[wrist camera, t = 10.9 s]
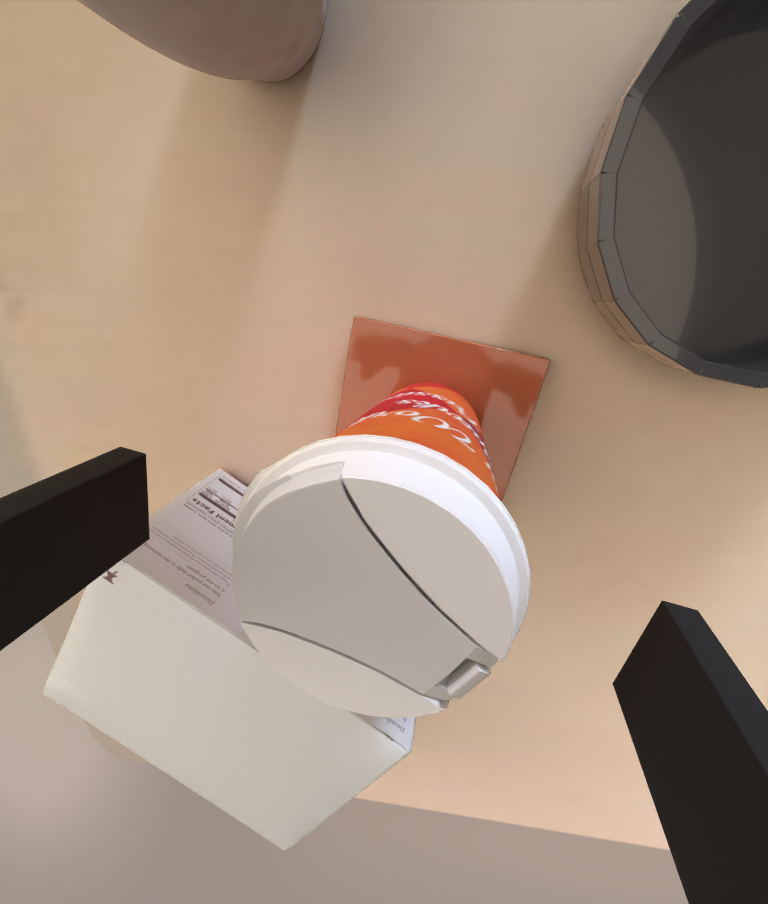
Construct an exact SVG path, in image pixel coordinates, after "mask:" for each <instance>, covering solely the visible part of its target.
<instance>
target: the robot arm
mask: <svg viewBox="0 0 768 904" xmlns="http://www.w3.org/2000/svg"><path fill="white" fill-rule="evenodd" d="M149 539H150V535H149V513H148V491H147V470H146V454H144V453H141V452H137V451H134V450H130V449H126V448H123V447H119V448H116V449H114V450H112V451H109V452H107V453H105V454H102V455H100V456H98V457H95V458H93V459H91V460H88V461H86V462H84V463H81V464H79V465H77V466H74V467H72V468H70V469H67V470H65V471H63V472H60V473H58V474H56V475H53V476H51V477H49V478H46V479H44V480H42V481H39V482H37V483H35V484H32V485H30V486H28V487H25V488H23V489H21V490H18V491H16V492H14V493H11V494H9V495H7V496H4V497H2V498H0V651H1V650H2V649H3V648H4V647H6V646H7V645H8V644H10V643H11V642H13V641H14V640H15V639H17V638H18V637H19V636H20V635H22V634H23V633H24V632H26V631H27V630H28V629H30V628H31V627H33V626H34V625H35V624H36V623H38V622H39V621H41V620H42V619H43V618H45V617H46V616H47V615H49V614H50V613H51V612H53V611H54V610H55V609H57V608H58V607H59V606H61V605H62V604H63V603H65V602H66V601H67V600H69V599H70V598H71V597H73V596H74V595H75V594H77V593H78V592H80V591H81V590H82V589H84V588H85V587H86V586H88V585H89V584H90V583H92V582H93V581H94V580H96V579H97V578H98V577H100V576H101V575H102V574H104V573H105V572H106V571H108V570H109V569H110V568H112V567H113V566H114V565H116V564H117V563H118V562H120V561H121V560H122V559H124V558H125V557H126V556H128V555H129V554H130V553H132V552H133V551H134V550H136V549H137V548H138V547H140V546H141V545H142V544H144V543H145V542H146V541H148V540H149ZM613 686H614V689H615V691H616V694H617V697H618V700H619V703H620V706H621V709H622V712H623V715H624V717H625V720H626V723H627V726H628V729H629V732H630V735H631V738H632V741H633V744H634V746H635V749H636V752H637V755H638V758H639V761H640V764H641V767H642V770H643V772H644V775H645V778H646V781H647V784H648V787H649V790H650V793H651V796H652V798H653V801H654V804H655V807H656V810H657V813H658V816H659V819H660V822H661V825H662V827H663V830H664V833H665V836H666V839H667V842H668V845H669V848H670V851H671V853H672V856H673V859H674V862H675V865H676V868H677V871H678V874H679V877H680V879H681V882H682V885H683V888H684V891H685V894H686V897H687V900H688V902H689V904H768V711H767V710H766V708H765V707H764V705H763V704H762V702H761V701H760V699H759V698H758V697H757V695H756V694H755V692H754V691H753V689H752V688H751V686H750V685H749V684H748V682H747V681H746V679H745V678H744V676H743V675H742V674H741V672H740V671H739V669H738V668H737V666H736V665H735V663H734V662H733V661H732V659H731V658H730V656H729V655H728V653H727V652H726V650H725V649H724V648H723V646H722V645H721V643H720V642H719V640H718V639H717V637H716V636H715V635H714V633H713V632H712V630H711V629H710V627H709V626H708V624H707V623H706V622H705V620H704V619H703V617H702V616H701V614H700V613H699V612H698V610H694V609H690V608H687V607H683V606H680V605H676V604H673V603H669V602H666V601H661V603H660V605H659V607H658V608H657V610H656V612H655V613H654V615H653V617H652V618H651V620H650V622H649V623H648V625H647V627H646V628H645V630H644V632H643V633H642V635H641V637H640V639H639V640H638V642H637V644H636V645H635V647H634V649H633V650H632V652H631V654H630V655H629V657H628V659H627V660H626V662H625V664H624V665H623V667H622V669H621V670H620V672H619V674H618V676H617V677H616V679H615V681H614V682H613Z"/></svg>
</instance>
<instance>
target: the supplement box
mask: <svg viewBox="0 0 768 904" xmlns="http://www.w3.org/2000/svg"><path fill="white" fill-rule="evenodd" d="M246 489H247V487H246V486H245V485H243V484H242V483H241V482H239V481H238V480H236V479H235V478H233V477H232V476H231V475H229V474H228V473H226V472H225V471H224V470H222V469H217V470H215V471H214V472H212V473H211V474H210V475H208V476H207V477H205V478H204V479H202V480H201V481H199V482H198V483H196V484H195V485H193V486H192V487H190V488H189V489H188V490H186V491H185V492H183V493H182V494H180V495H179V496H177V497H176V498H174V499H173V500H171V501H170V502H168V503H167V504H165V505H164V506H162V507H161V508H159V509H158V510H156V511H155V512H154V513H152V514H151V515H149V535H150V539H149V540H148V541H146V542H145V543H144V544H142V545H141V546H140V547H138V548H137V549H136V550H134V551H133V552H132V553H130V554H129V555H128V556H126V557H125V558H124V559H122V560H121V561H120V562H118V563H117V564H116V565H114V566H113V567H112V568H110V569H109V570H108V571H106V572H105V573H104V574H102V575H101V576H100V577H98V578H97V579H96V580H94V581H93V582H92V583H90V584H89V585H88V586H87V587H86V589H85V592H84V594H83V596H82V599H81V601H80V604H79V606H78V609H77V611H76V614H75V616H74V619H73V621H72V624H71V626H70V629H69V631H68V633H67V636H66V639H65V641H64V643H63V645H62V648H61V650H60V652H59V655H58V657H57V659H56V662H55V664H54V667H53V669H52V671H51V673H50V675H49V678H48V681H47V683H46V685H45V688H44V691H43V694H44V695H45V696H46V697H48V698H50V699H52V700H54V701H55V702H57V703H59V704H60V705H62V706H63V707H65V708H66V709H68V710H69V711H71V712H73V713H74V714H76V715H78V716H79V717H81V718H82V719H84V720H85V721H87V722H88V723H90V724H91V725H93V726H94V727H96V728H97V729H99V730H100V731H102V732H104V733H105V734H107V735H108V736H110V737H111V738H113V739H114V740H116V741H117V742H119V743H120V744H122V745H124V746H125V747H127V748H128V749H130V750H131V751H133V752H134V753H136V754H137V755H139V756H140V757H142V758H143V759H145V760H147V761H148V762H150V763H151V764H153V765H154V766H156V767H157V768H159V769H161V770H162V771H164V772H165V773H167V774H168V775H170V776H171V777H173V778H174V779H176V780H177V781H179V782H180V783H182V784H183V785H185V786H186V787H188V788H190V789H191V790H193V791H194V792H196V793H197V794H199V795H200V796H202V797H203V798H205V799H207V800H208V801H210V802H211V803H213V804H214V805H216V806H217V807H219V808H220V809H222V810H223V811H225V812H226V813H228V814H230V815H231V816H233V817H234V818H236V819H237V820H239V821H240V822H242V823H243V824H245V825H246V826H248V827H249V828H251V829H253V830H254V831H255V832H257V833H259V834H260V835H261V836H263V837H264V838H266V839H267V840H269V841H270V842H271V843H273V844H274V845H276V846H277V847H279V848H281V849H282V850H283V851H286V850H287V849H289V848H290V847H292V846H293V845H294V844H295V843H297V842H298V841H299V840H301V839H302V838H303V837H304V836H306V835H307V834H308V833H310V832H311V831H312V830H313V829H315V828H316V827H317V826H318V825H319V824H321V823H322V822H323V821H324V820H325V819H327V818H328V817H329V816H331V815H332V814H333V813H334V812H335V811H337V810H338V809H339V808H341V807H342V806H343V805H345V804H346V803H347V802H348V801H350V800H351V799H352V798H353V797H355V796H356V795H357V794H358V793H360V792H361V791H362V790H364V789H365V788H366V787H367V786H369V785H370V784H371V783H372V782H374V781H375V780H376V779H377V778H379V777H380V776H381V775H382V774H384V773H385V772H386V771H388V770H389V769H390V768H391V767H393V766H394V765H395V764H397V763H398V762H399V761H400V760H402V759H403V758H404V757H405V756H407V755H408V754H409V753H410V752H411V749H412V744H413V737H414V729H415V721H416V717H410V718H386V717H377V716H369V715H364V714H360V713H355V712H351V711H348V710H345V709H342V708H339V707H336V706H333V705H330V704H328V703H326V702H324V701H322V700H320V699H318V698H316V697H313V696H312V695H310V694H308V693H307V692H305V691H303V690H302V689H300V688H298V687H297V686H295V685H294V684H293V683H291V682H290V681H289V680H287V679H286V678H285V677H283V676H282V675H281V674H280V673H279V672H278V671H276V670H275V669H274V668H273V667H272V666H271V665H270V664H269V663H268V662H267V661H266V660H265V659H264V657H263V656H262V655H261V654H260V653H259V651H258V650H257V649H256V648H255V646H254V645H253V644H252V642H251V640H250V639H249V637H248V636H247V634H246V632H245V631H244V629H243V627H242V625H241V621H240V619H239V615H238V611H237V607H236V602H235V598H234V592H233V586H232V562H233V533H234V529H235V526H234V523H235V519H236V515H237V511H238V507H239V504H240V502H241V500H242V498H243V495H244V493H245V491H246Z"/></svg>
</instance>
